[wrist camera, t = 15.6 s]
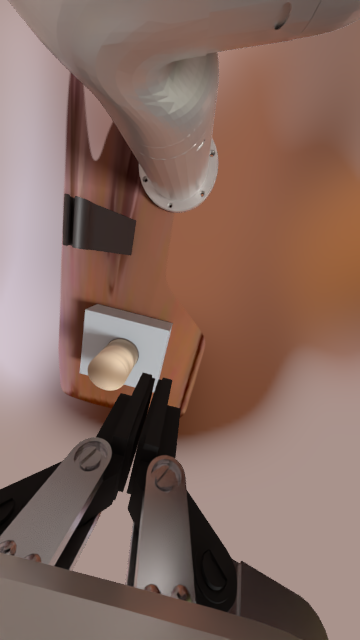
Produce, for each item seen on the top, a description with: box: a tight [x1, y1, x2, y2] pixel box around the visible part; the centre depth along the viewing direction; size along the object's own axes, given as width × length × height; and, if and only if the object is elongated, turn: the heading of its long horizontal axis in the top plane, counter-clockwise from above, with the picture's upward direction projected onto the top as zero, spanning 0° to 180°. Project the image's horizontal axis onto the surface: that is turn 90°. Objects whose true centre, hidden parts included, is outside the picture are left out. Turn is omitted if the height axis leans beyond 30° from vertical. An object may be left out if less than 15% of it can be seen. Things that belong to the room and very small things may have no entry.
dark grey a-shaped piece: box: [63, 194, 136, 255], centre depth 30 cm, size 9×6×12 cm, turn 76°
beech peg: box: [88, 338, 139, 390], centre depth 37 cm, size 6×6×11 cm
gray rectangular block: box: [80, 304, 173, 392], centre depth 40 cm, size 14×16×4 cm
